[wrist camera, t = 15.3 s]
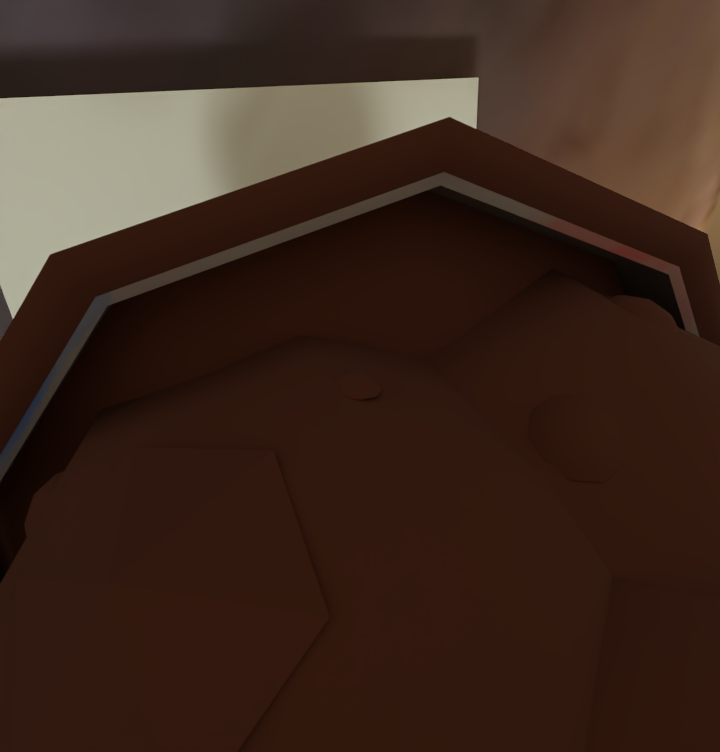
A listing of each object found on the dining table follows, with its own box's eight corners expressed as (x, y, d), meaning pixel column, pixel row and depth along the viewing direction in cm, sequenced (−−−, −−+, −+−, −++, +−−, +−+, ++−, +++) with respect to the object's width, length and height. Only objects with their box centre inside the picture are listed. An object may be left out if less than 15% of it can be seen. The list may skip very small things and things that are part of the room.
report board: (82, 472, 21) (77, 490, 20) (-51, 103, 15) (-69, 101, 14) (451, 398, 24) (463, 410, 23) (462, 79, 19) (478, 77, 18)
